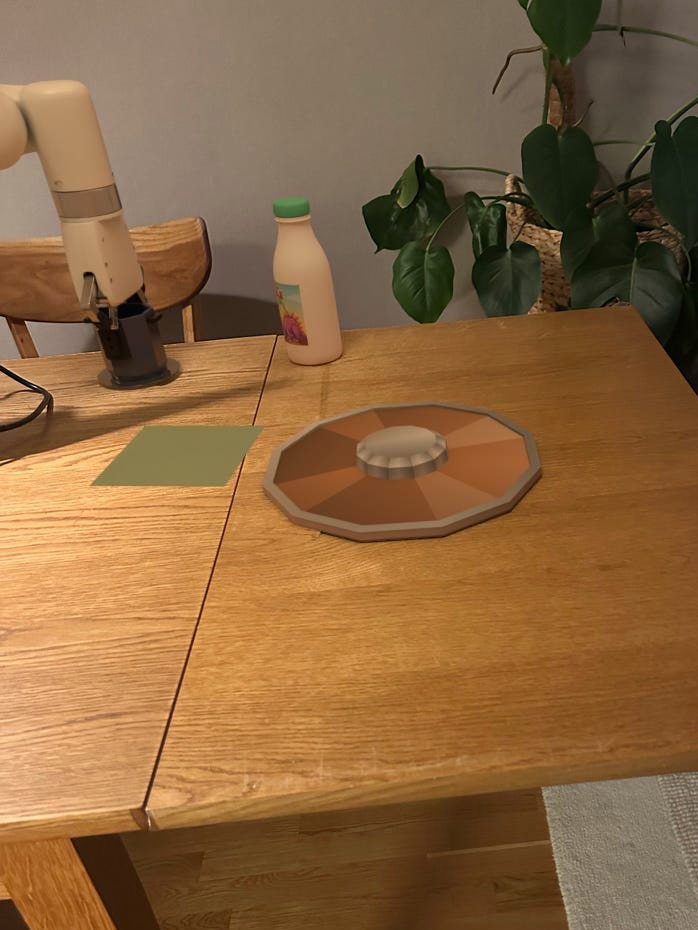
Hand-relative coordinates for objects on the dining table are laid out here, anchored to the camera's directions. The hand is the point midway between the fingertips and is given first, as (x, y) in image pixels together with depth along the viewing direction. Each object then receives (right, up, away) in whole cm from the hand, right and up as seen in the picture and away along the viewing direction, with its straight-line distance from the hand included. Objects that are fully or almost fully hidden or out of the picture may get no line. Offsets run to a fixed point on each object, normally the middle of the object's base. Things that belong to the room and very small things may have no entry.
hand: (131, 346), depth 113 cm
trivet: (0, -3, +3) cm, 4 cm away
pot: (0, -3, +2) cm, 3 cm away
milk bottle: (+24, +1, +6) cm, 24 cm away
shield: (+39, -21, -22) cm, 49 cm away
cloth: (+13, -19, -17) cm, 29 cm away
